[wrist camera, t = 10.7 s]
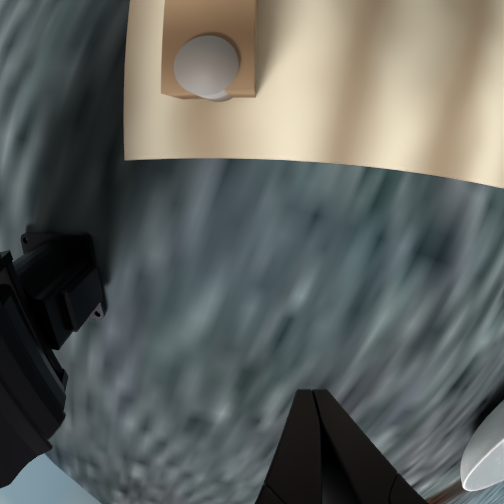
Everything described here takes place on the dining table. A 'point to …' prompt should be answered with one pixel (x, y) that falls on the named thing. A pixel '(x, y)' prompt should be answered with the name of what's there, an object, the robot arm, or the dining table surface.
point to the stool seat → (339, 89)
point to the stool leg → (209, 49)
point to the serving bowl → (485, 453)
